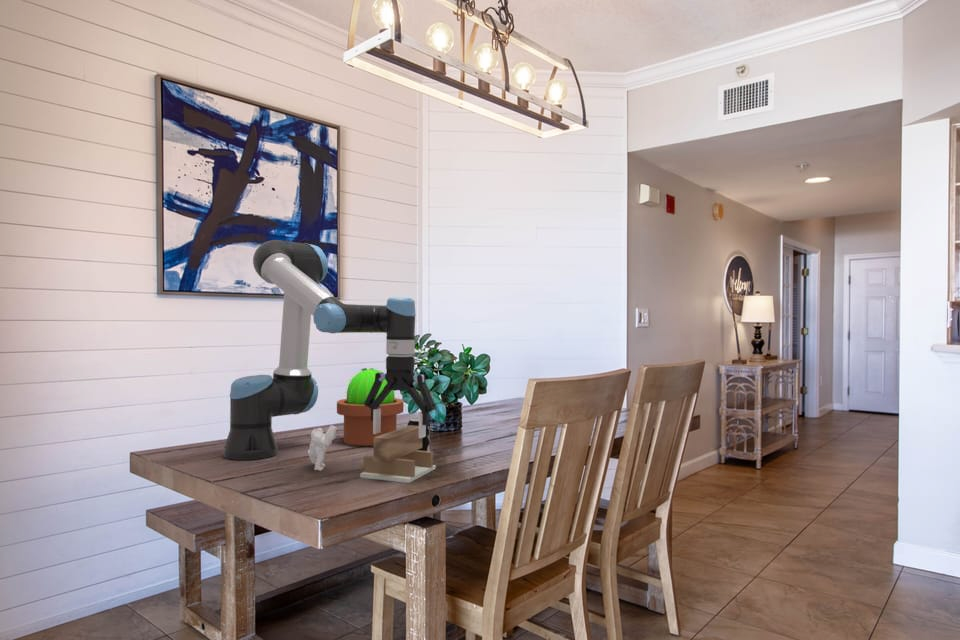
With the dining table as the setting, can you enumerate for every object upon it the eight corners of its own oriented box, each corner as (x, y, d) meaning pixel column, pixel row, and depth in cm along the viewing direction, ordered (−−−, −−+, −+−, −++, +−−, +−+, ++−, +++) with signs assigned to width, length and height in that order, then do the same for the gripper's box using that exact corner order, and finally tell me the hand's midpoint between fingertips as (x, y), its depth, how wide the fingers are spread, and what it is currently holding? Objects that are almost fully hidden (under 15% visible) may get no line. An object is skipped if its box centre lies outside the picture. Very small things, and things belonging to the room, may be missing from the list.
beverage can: (426, 463, 173) (426, 421, 173) (403, 462, 175) (404, 420, 175) (432, 458, 180) (432, 417, 180) (411, 457, 181) (411, 416, 181)
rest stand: (360, 477, 157) (360, 458, 157) (390, 464, 172) (390, 446, 172) (408, 482, 152) (408, 462, 152) (435, 468, 167) (435, 450, 167)
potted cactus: (399, 448, 193) (400, 369, 194) (329, 448, 193) (330, 369, 193) (406, 435, 215) (407, 365, 216) (344, 435, 215) (344, 364, 215)
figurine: (339, 469, 165) (339, 425, 165) (323, 473, 161) (324, 427, 161) (315, 463, 172) (316, 421, 172) (300, 466, 168) (301, 423, 168)
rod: (373, 461, 153) (373, 437, 154) (409, 446, 172) (409, 425, 172) (387, 462, 152) (387, 438, 152) (422, 447, 171) (422, 426, 171)
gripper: (352, 354, 163) (351, 433, 163) (437, 358, 154) (435, 441, 154) (367, 353, 170) (365, 429, 170) (448, 356, 161) (447, 436, 161)
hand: (399, 435), depth 162 cm, fingers open, 13 cm apart
